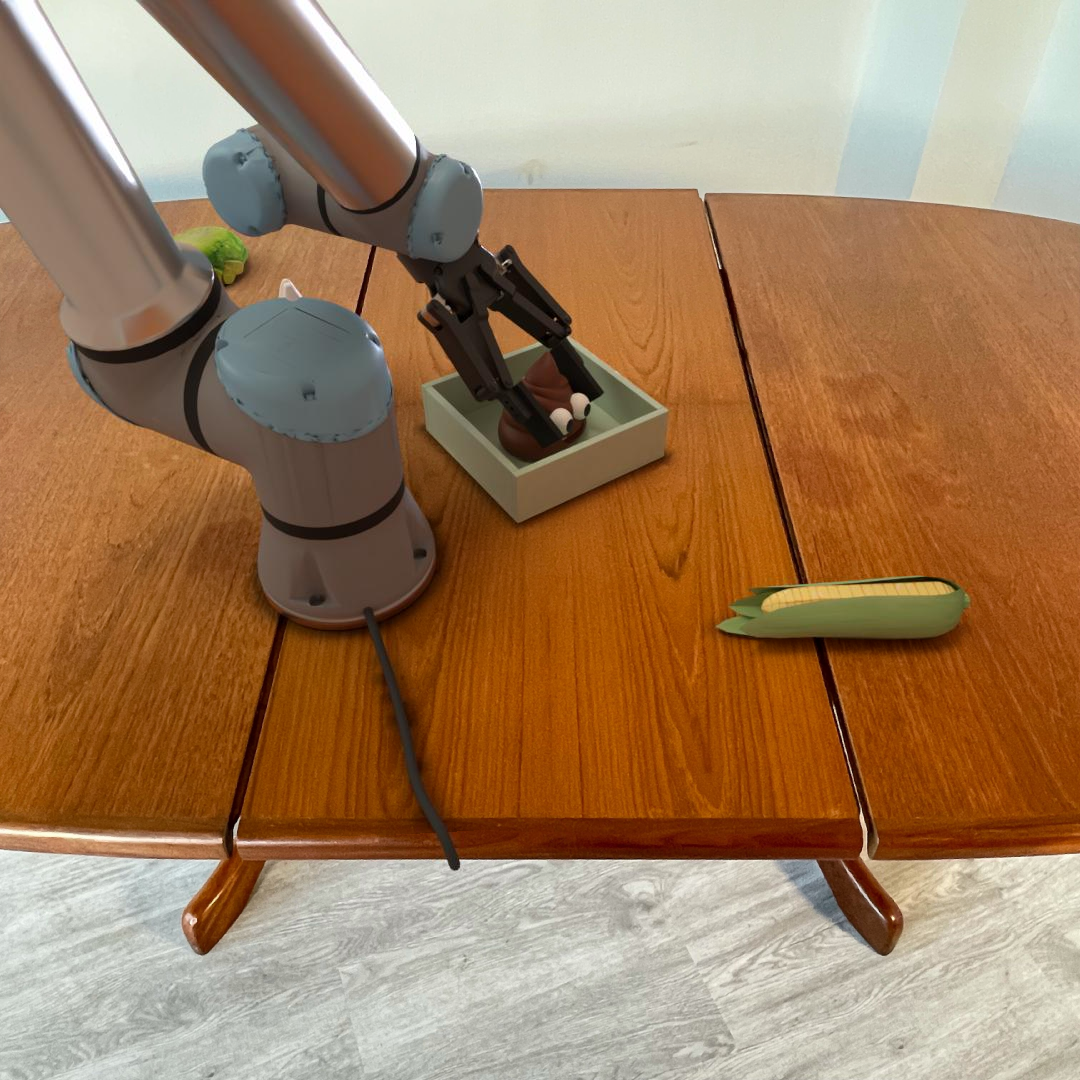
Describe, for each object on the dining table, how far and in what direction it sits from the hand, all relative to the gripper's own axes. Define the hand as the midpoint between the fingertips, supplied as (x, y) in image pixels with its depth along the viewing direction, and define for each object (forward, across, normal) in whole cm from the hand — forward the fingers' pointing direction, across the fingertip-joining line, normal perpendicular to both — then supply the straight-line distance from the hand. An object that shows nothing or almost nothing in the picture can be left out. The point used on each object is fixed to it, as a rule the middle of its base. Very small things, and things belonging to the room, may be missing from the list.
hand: (574, 420), depth 86 cm
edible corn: (+24, +9, +18) cm, 32 cm away
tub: (0, 0, -5) cm, 5 cm away
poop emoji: (0, 0, -5) cm, 5 cm away
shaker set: (-20, +4, -26) cm, 33 cm away
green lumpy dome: (-41, -10, -47) cm, 63 cm away
